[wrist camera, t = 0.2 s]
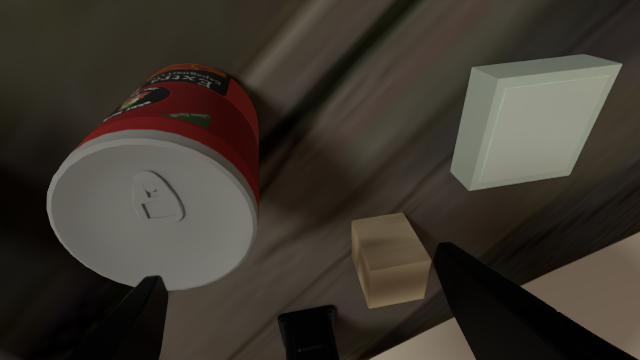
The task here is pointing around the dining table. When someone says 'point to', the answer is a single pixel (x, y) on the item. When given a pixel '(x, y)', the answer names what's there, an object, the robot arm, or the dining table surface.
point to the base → (529, 119)
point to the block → (389, 260)
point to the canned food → (164, 183)
